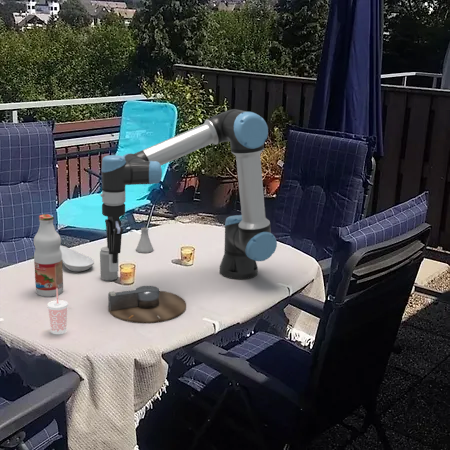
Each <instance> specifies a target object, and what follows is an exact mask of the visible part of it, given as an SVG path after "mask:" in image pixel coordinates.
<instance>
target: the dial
mask: <svg viewBox="0 0 450 450" xmlns="http://www.w3.org/2000/svg"><path fill="white" fill-rule="evenodd" d="M159 291H160V288H159V287H157V286H154V285H142V286H139V287H137V288H136V289H131V290H126V291H124V290H123V291H119V292H115V291H114V290H113V291H108V296H107V297H108V305H109V309H110V310H117V309H124V308H131V307H140V308H154V307H157V306H158V305H159ZM109 309H108V310H109Z"/></svg>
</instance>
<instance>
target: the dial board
mask: <svg viewBox="0 0 450 450" xmlns="http://www.w3.org/2000/svg"><path fill="white" fill-rule="evenodd" d="M107 307H108V309H107V310H108V312H109V313H110V315H111V316H113V317H114V318H116V319H118V320H120V321H124V322H128V323H134V324H156V323H162V322H168V321H172V320H174V319H176V318H178V317H180V316H181V315H183V314H185V311H186V310H187V302H186V301H185V299H184V298H183V297H181V296H179V295H178V294H175V293H172V292H169V291H163V290H159V305H158V306H157V307H154V308H140V307H131V308H124V309H117V310H110V309H109V304H108V306H107Z"/></svg>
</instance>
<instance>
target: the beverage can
mask: <svg viewBox="0 0 450 450" xmlns="http://www.w3.org/2000/svg"><path fill="white" fill-rule="evenodd" d="M99 265H100V266H99V267H100V269H99V270H100V273H99V274H100V279H101V280H102V281H105V282H111V281H115V280H117V278H118V275H119V274H118V272H119V271H118V272H110V271H109V248H107V246H104V247H101V248H100V251H99Z"/></svg>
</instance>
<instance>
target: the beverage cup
mask: <svg viewBox="0 0 450 450" xmlns="http://www.w3.org/2000/svg"><path fill="white" fill-rule="evenodd" d="M55 297H56V300H52V301H48V303H46V305H47V309H48V316H49V325H50V326H49V327H50V333H51V334H53V335H62V334H65V333H66V332H67V328H68V327H67V325H68V324H67V323H68V320H67V319H68V318H67V317H68V306H69V302H68V301H67V300H65V299H64V300H63V299H62V300H61V299H59V295H58V288H56V296H55Z"/></svg>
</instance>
